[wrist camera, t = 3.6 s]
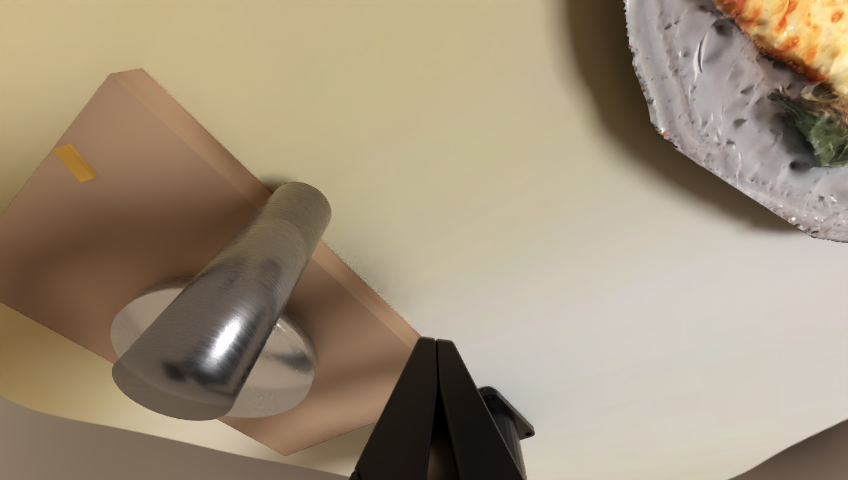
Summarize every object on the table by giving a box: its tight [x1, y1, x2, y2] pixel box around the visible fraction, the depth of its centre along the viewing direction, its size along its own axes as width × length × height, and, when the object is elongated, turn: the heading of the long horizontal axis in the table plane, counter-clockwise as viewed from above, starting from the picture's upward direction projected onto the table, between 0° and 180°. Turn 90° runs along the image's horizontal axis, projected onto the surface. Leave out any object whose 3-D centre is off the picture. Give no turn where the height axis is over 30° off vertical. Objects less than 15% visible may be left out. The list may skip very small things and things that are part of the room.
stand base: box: [0, 68, 421, 456], centre depth 20 cm, size 22×16×2 cm
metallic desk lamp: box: [111, 182, 331, 421], centre depth 14 cm, size 17×10×8 cm, turn 146°
